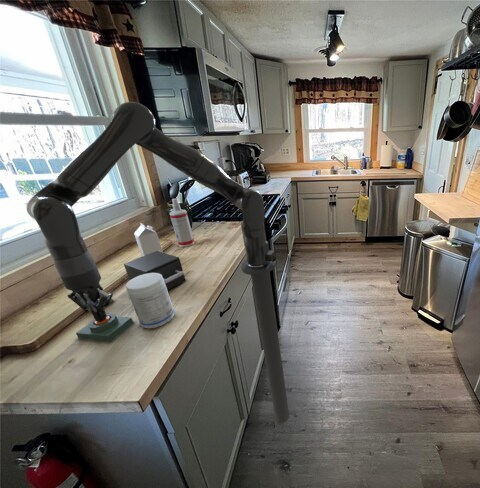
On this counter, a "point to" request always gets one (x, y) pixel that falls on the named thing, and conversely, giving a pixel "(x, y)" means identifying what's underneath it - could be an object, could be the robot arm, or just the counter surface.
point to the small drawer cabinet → (148, 264)
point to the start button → (102, 321)
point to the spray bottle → (181, 225)
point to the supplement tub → (150, 300)
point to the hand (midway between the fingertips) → (101, 319)
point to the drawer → (171, 274)
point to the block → (105, 328)
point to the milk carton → (147, 240)
